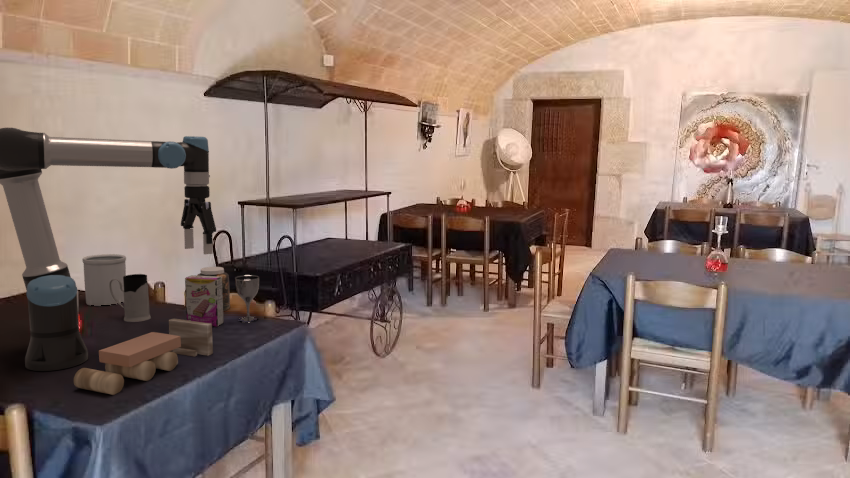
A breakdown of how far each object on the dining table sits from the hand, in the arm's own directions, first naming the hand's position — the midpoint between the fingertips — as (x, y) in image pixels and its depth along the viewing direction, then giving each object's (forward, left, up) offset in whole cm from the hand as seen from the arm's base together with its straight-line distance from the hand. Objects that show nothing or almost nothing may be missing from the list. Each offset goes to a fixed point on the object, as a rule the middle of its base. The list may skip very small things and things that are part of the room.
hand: (198, 251), depth 206 cm
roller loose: (-39, -37, -26) cm, 59 cm away
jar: (+13, +24, -26) cm, 38 cm away
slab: (-26, -30, -21) cm, 45 cm away
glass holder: (-15, +28, -26) cm, 41 cm away
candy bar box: (+3, +5, -26) cm, 27 cm away
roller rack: (-21, -27, -26) cm, 43 cm away
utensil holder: (-16, +57, -26) cm, 65 cm away
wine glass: (+17, +2, -26) cm, 31 cm away
